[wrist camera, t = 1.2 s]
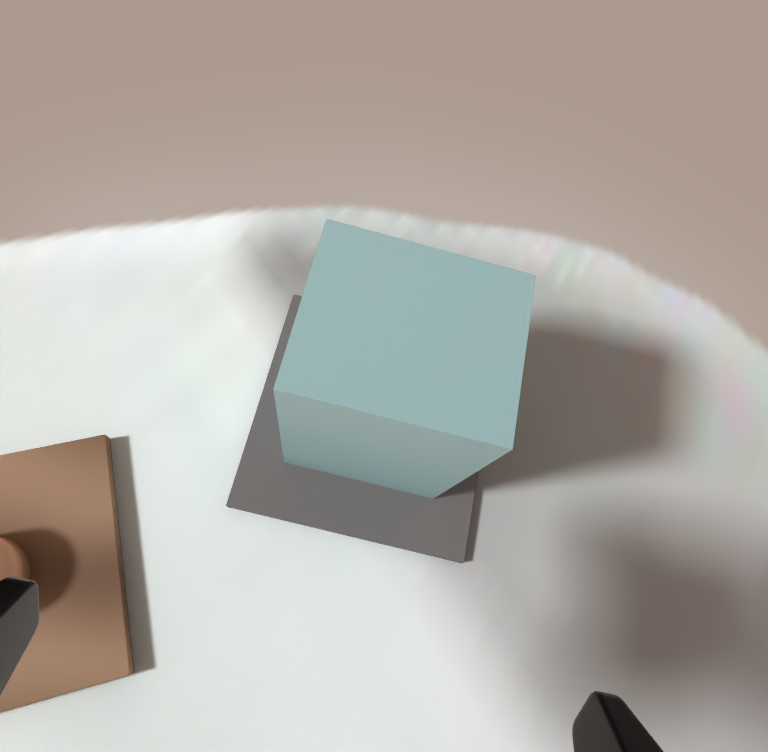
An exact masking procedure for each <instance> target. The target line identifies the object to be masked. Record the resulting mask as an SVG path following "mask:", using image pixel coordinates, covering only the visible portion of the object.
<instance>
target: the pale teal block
mask: <svg viewBox="0 0 768 752" xmlns="http://www.w3.org/2000/svg"><path fill="white" fill-rule="evenodd" d="M535 279H536V275H532V274H529V273H525V272H521V271H517V270H514V269H510V268H506V267H503V266H499V265H495V264H492V263H488V262H484V261H481V260H477V259H473V258H469V257H466V256H462V255H458V254H455V253H451V252H447V251H444V250H440V249H436V248H433V247H429V246H425V245H421V244H418V243H414V242H410V241H407V240H403V239H399V238H396V237H392V236H388V235H385V234H381V233H377V232H373V231H370V230H366V229H362V228H359V227H355V226H351V225H348V224H344V223H340V222H337V221H333V220H329V219H326V222H325V225H324V228H323V232H322V235H321V238H320V241H319V244H318V248H317V251H316V254H315V257H314V260H313V264H312V267H311V270H310V273H309V276H308V280H307V283H306V286H305V289H304V292H303V296H302V299H301V302H300V305H299V308H298V312H297V315H296V318H295V321H294V324H293V328H292V331H291V334H290V337H289V340H288V344H287V347H286V350H285V353H284V356H283V360H282V363H281V366H280V369H279V372H278V376H277V379H276V382H275V385H274V388H273V390H274V397H275V404H276V411H277V418H278V424H279V431H280V438H281V445H282V452H283V459H284V462H285V463H289V464H293V465H297V466H301V467H305V468H310V469H314V470H318V471H322V472H326V473H330V474H334V475H338V476H342V477H346V478H350V479H354V480H358V481H362V482H366V483H370V484H375V485H379V486H383V487H387V488H391V489H395V490H399V491H403V492H407V493H411V494H415V495H419V496H423V497H427V498H431V499H434V498H435V497H437V496H438V495H440V494H442V493H443V492H445V491H446V490H448V489H450V488H451V487H453V486H454V485H456V484H458V483H459V482H461V481H463V480H464V479H466V478H467V477H469V476H471V475H472V474H474V473H475V472H477V471H479V470H480V469H482V468H484V467H485V466H487V465H488V464H490V463H492V462H493V461H495V460H496V459H498V458H500V457H501V456H503V455H505V454H506V453H508V452H509V451H511V450H513V443H514V436H515V428H516V421H517V413H518V406H519V399H520V391H521V384H522V376H523V369H524V361H525V354H526V346H527V339H528V331H529V324H530V317H531V309H532V302H533V294H534V287H535Z"/></svg>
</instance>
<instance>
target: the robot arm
mask: <svg viewBox="0 0 768 752" xmlns="http://www.w3.org/2000/svg"><path fill="white" fill-rule="evenodd" d="M39 616H40V615H39V595H38V585H37V583H36V582H35V581H33V580H30V579H25V578H20V577H15V576H10V577H6V578H3V579H1V580H0V696H1V694H2V692H3V690H4V688H5V687H6V685H7V683H8V681H9V679H10V677H11V676H12V674H13V672H14V670H15V668H16V666H17V665H18V663H19V661H20V659H21V657H22V655H23V654H24V652H25V650H26V648H27V646H28V644H29V643H30V641H31V639H32V637H33V635H34V633H35V631H36V629H37V626H38V623H39ZM572 735H573V745H574V752H663V750H662V749H661V748H660V747H659V745H658V744H657V743H656V742H655V740H654V739H653V738H652V736H651V735H650V734H649V733H648V731H647V730H646V729H645V728H644V726H643V725H642V724H641V723H640V721H639V720H638V719H637V718H636V716H635V715H634V714H633V712H632V711H631V710H630V709H629V707H628V706H627V705H626V704H625V702H624V701H623V700H622V699H621V698H620V697H618V696H616V695H614V694H609V693H604V692H599V691H595V692H593V693H591V694H590V696H589V697H588V699H587V700H586V702H585V704H584V705H583V707H582V709H581V710H580V712H579V714H578V715H577V717H576V719H575V721H574V724H573V733H572Z"/></svg>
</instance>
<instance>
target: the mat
mask: <svg viewBox="0 0 768 752" xmlns="http://www.w3.org/2000/svg"><path fill="white" fill-rule="evenodd" d="M301 299H302V296H298V295H293V298H292V301H291V304H290V307H289V311H288V314H287V317H286V320H285V323H284V326H283V329H282V332H281V336H280V339H279V342H278V345H277V348H276V351H275V354H274V357H273V361H272V364H271V367H270V370H269V373H268V376H267V379H266V382H265V386H264V389H263V392H262V395H261V398H260V401H259V404H258V407H257V411H256V414H255V417H254V420H253V423H252V426H251V429H250V432H249V436H248V439H247V442H246V445H245V448H244V451H243V454H242V458H241V461H240V464H239V467H238V470H237V473H236V476H235V479H234V483H233V486H232V489H231V492H230V495H229V498H228V501H227V504H226V506H227V507H231V508H235V509H239V510H243V511H247V512H252V513H256V514H260V515H264V516H268V517H272V518H276V519H281V520H285V521H289V522H293V523H297V524H301V525H306V526H310V527H314V528H318V529H322V530H326V531H331V532H335V533H339V534H343V535H347V536H351V537H356V538H360V539H364V540H368V541H372V542H376V543H380V544H385V545H389V546H393V547H397V548H401V549H405V550H410V551H414V552H418V553H422V554H426V555H430V556H435V557H439V558H443V559H447V560H451V561H455V562H459V563H464V558H465V552H466V546H467V539H468V533H469V526H470V520H471V513H472V507H473V501H474V494H475V488H476V481H477V475H478V471H477V472H475V473H474V474H472V475H471V476H469V477H467V478H466V479H464V480H463V481H461V482H459V483H458V484H456V485H454V486H453V487H451V488H450V489H448V490H446V491H445V492H443V493H442V494H440V495H438V496H437V497H435V498H434V499H431V498H427V497H423V496H419V495H415V494H411V493H407V492H403V491H399V490H395V489H391V488H387V487H383V486H379V485H375V484H370V483H366V482H362V481H358V480H354V479H350V478H346V477H342V476H338V475H334V474H330V473H326V472H322V471H318V470H314V469H310V468H305V467H301V466H297V465H293V464H289V463H285V462H284V459H283V452H282V445H281V438H280V431H279V424H278V418H277V411H276V404H275V397H274V390H273V388H274V385H275V382H276V379H277V376H278V372H279V369H280V366H281V363H282V360H283V356H284V353H285V350H286V347H287V344H288V340H289V337H290V334H291V331H292V328H293V324H294V321H295V318H296V315H297V312H298V308H299V305H300V302H301Z"/></svg>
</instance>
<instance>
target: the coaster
mask: <svg viewBox="0 0 768 752" xmlns="http://www.w3.org/2000/svg"><path fill="white" fill-rule="evenodd" d="M0 536H1V537H6V538H9V539H11V540H13V541H15V542H16V543H18V544H19V545H20V546H21V547H22V548H23V549H24V551H25V553H26V554H27V557H28V559H29V564H30V577H29V579H30V580H33V581H35V582H36V583H37V585H38V595H39V615H40V616H39V623H38V626H37V629H36V631H35V633H34V635H33V637H32V639H31V641H30V643H29V644H28V646H27V648H26V650H25V652H24V654H23V655H22V657H21V659H20V661H19V663H18V665H17V666H16V668H15V670H14V672H13V674H12V676H11V677H10V679H9V681H8V683H7V685H6V687H5V688H4V690H3V692H2V694H1V696H0V712H3V711H6V710H10V709H13V708H17V707H20V706H24V705H27V704H31V703H34V702H38V701H41V700H45V699H48V698H52V697H55V696H58V695H62V694H65V693H69V692H72V691H76V690H79V689H83V688H86V687H90V686H93V685H97V684H100V683H103V682H107V681H110V680H114V679H117V678H121V677H124V676H128V675H130V674H132V673H134V667H133V658H132V648H131V639H130V629H129V620H128V610H127V600H126V591H125V581H124V572H123V562H122V553H121V543H120V534H119V524H118V515H117V505H116V495H115V486H114V476H113V467H112V457H111V448H110V438H109V437H107V436H106V435H101V436H96V437H91V438H86V439H80V440H75V441H70V442H65V443H60V444H55V445H50V446H45V447H40V448H35V449H30V450H25V451H20V452H15V453H10V454H5V455H0Z"/></svg>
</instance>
